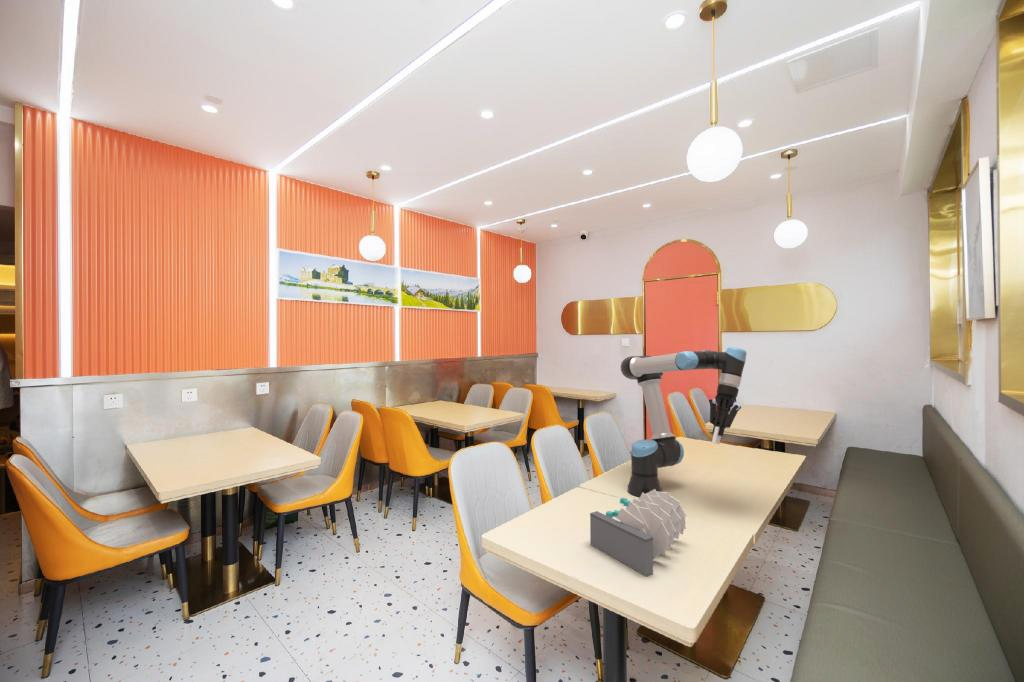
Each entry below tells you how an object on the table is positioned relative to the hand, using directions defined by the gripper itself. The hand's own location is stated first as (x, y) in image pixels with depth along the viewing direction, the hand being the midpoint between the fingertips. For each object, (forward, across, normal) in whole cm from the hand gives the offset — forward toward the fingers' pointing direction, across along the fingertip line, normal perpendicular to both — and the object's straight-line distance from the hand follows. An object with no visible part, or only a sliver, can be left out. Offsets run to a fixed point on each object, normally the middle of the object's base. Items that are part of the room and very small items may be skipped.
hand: (715, 443), depth 172 cm
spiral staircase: (+38, -10, +34) cm, 52 cm away
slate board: (+42, -10, +48) cm, 65 cm away
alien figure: (+36, +14, +17) cm, 42 cm away
